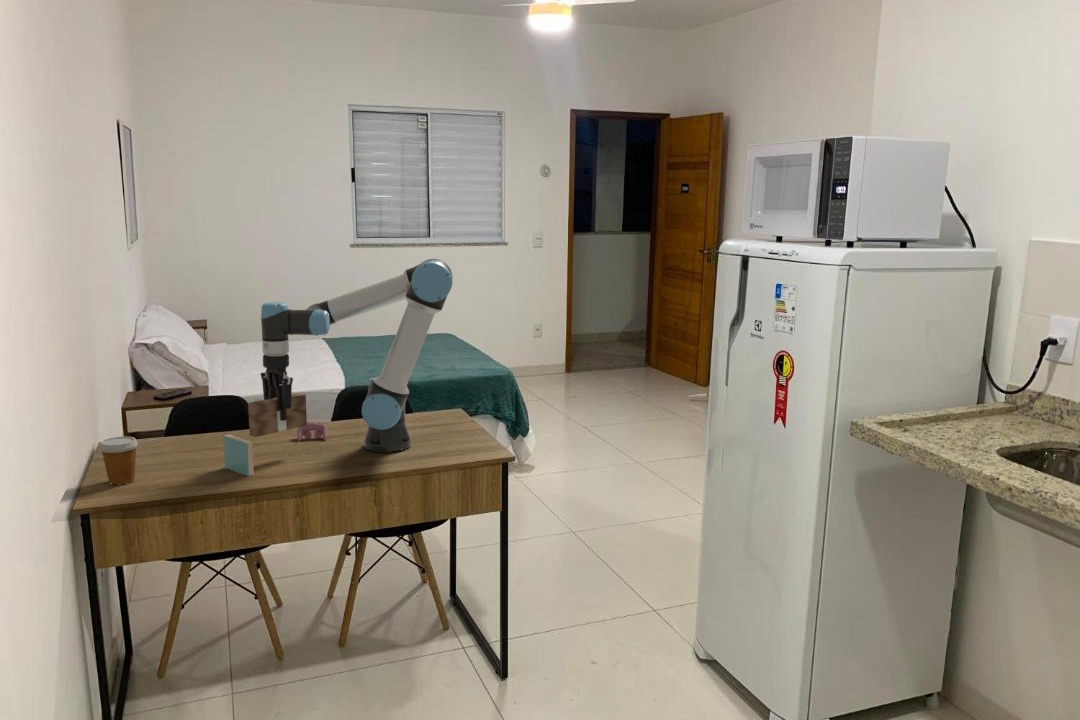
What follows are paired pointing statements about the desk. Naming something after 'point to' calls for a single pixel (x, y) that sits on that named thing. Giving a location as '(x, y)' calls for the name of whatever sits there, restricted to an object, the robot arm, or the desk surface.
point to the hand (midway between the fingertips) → (278, 429)
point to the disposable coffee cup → (119, 459)
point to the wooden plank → (266, 415)
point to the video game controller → (317, 426)
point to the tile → (238, 455)
